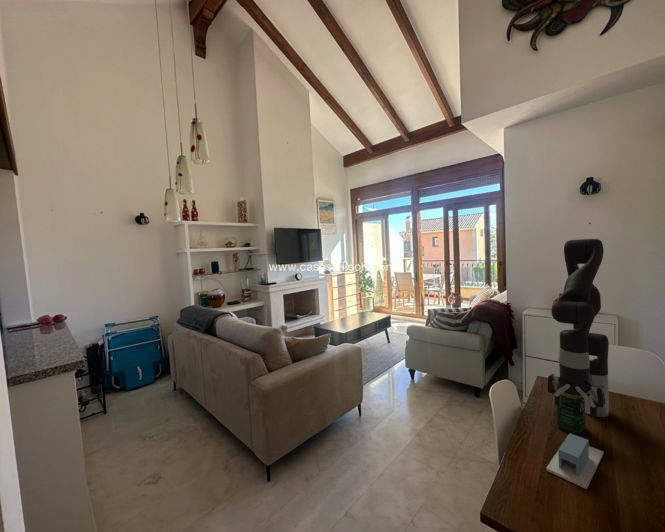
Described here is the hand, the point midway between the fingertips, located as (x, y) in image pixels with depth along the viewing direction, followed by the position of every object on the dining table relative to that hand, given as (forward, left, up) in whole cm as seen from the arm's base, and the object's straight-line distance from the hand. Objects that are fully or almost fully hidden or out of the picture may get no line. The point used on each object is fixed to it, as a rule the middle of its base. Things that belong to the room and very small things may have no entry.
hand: (575, 411), depth 96 cm
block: (+2, 0, -16) cm, 16 cm away
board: (0, 0, -17) cm, 17 cm away
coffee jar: (-21, -6, -17) cm, 28 cm away
